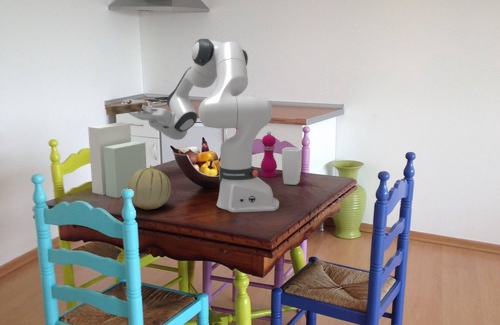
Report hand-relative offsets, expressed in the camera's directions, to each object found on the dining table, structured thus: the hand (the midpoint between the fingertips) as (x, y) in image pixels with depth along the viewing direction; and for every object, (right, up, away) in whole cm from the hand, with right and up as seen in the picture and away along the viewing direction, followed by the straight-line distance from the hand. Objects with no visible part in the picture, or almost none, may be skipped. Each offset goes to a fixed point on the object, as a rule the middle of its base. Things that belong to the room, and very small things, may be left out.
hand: (138, 106), depth 219 cm
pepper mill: (+55, -30, +16) cm, 64 cm away
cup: (+64, -33, +2) cm, 71 cm away
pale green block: (-2, -35, -10) cm, 37 cm away
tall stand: (-9, -34, -6) cm, 36 cm away
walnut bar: (-3, -3, -4) cm, 6 cm away
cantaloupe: (+11, -40, -32) cm, 52 cm away
